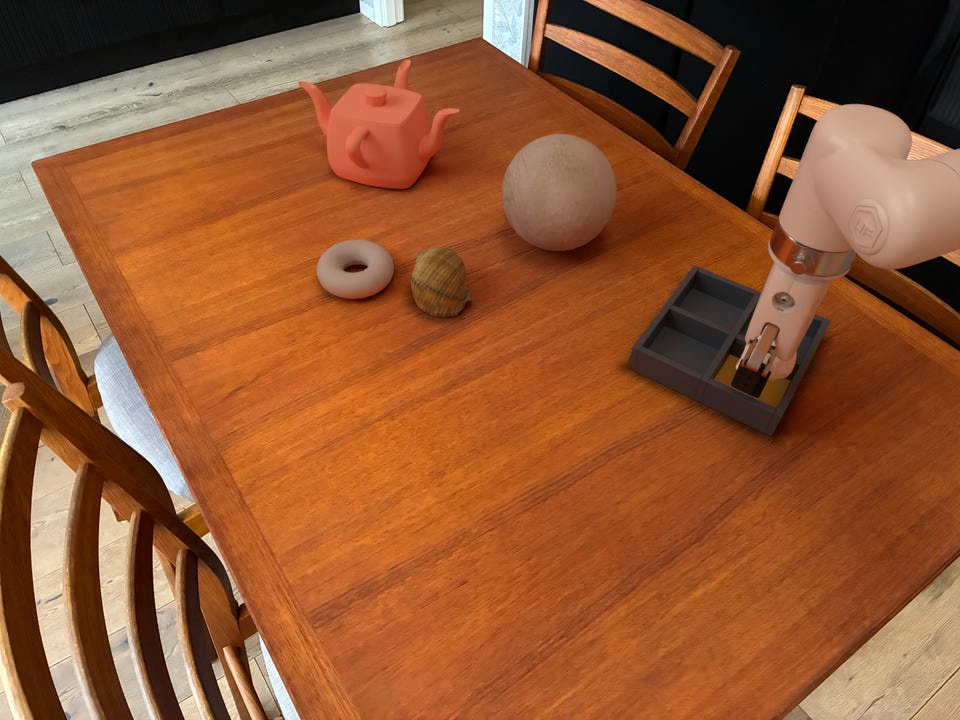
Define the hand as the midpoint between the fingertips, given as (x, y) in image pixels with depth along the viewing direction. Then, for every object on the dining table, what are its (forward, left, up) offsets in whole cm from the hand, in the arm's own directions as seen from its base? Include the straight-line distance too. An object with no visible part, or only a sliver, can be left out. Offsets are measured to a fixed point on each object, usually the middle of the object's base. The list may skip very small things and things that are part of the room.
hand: (757, 368), depth 80 cm
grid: (+4, -4, -4) cm, 7 cm away
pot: (+63, -12, -4) cm, 65 cm away
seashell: (+38, +7, -4) cm, 39 cm away
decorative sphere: (+32, -11, -4) cm, 34 cm away
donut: (+49, +11, -4) cm, 51 cm away
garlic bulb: (0, 0, -1) cm, 1 cm away
